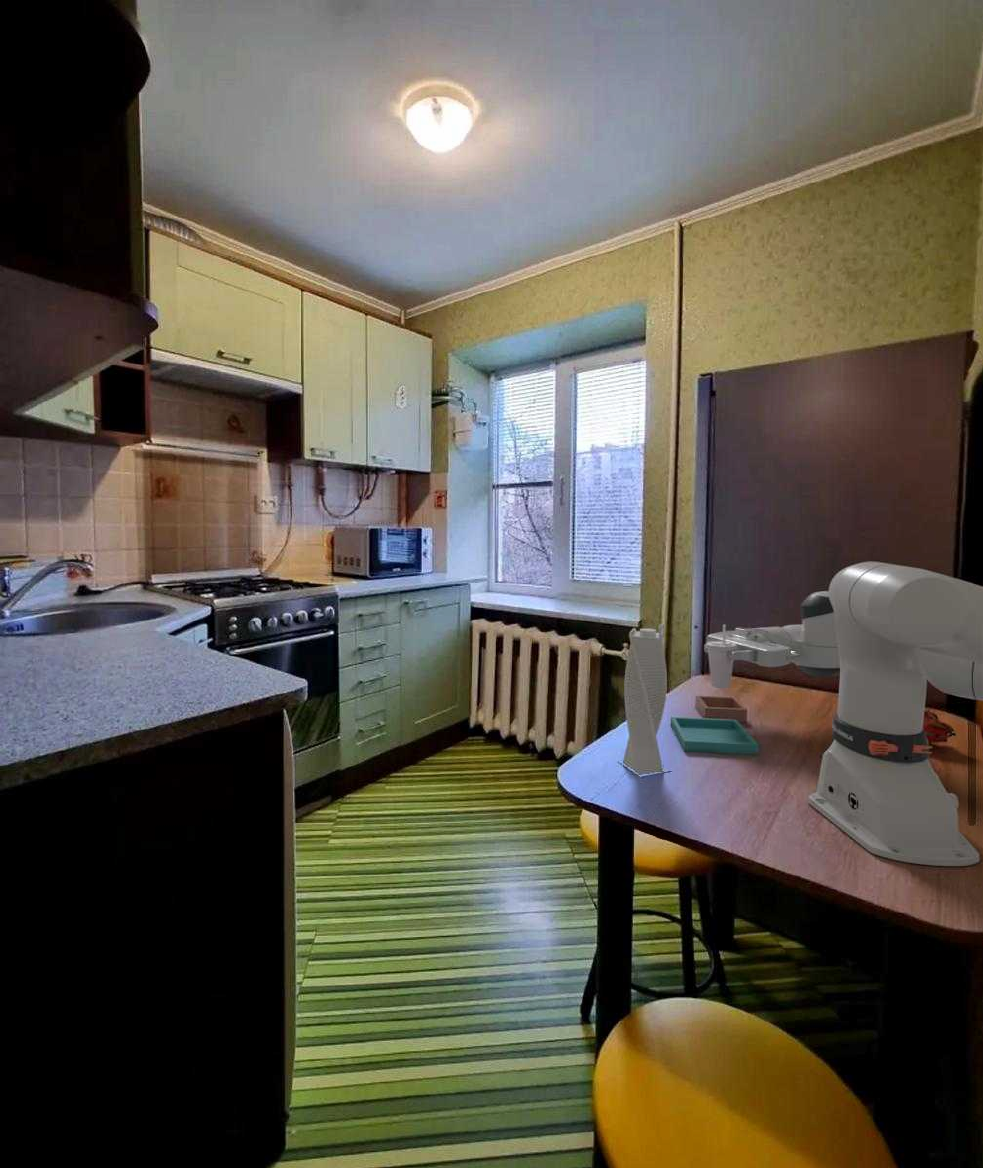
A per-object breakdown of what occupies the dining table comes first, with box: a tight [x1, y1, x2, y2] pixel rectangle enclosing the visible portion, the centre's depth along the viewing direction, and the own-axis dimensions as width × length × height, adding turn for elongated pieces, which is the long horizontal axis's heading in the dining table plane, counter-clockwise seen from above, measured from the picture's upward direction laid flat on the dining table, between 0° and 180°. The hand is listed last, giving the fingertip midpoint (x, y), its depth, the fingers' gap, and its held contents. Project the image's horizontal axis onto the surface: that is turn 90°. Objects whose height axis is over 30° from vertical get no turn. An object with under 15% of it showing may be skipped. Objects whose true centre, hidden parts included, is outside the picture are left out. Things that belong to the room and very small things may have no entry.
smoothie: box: [706, 623, 737, 689], centre depth 125 cm, size 6×6×14 cm
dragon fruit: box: [923, 708, 957, 749], centre depth 115 cm, size 8×8×12 cm
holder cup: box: [694, 695, 748, 723], centre depth 132 cm, size 9×9×3 cm
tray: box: [670, 716, 759, 756], centre depth 117 cm, size 14×14×2 cm
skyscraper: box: [622, 622, 668, 775], centre depth 102 cm, size 8×8×28 cm
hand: (717, 652), depth 125 cm, fingers closed on smoothie, 6 cm apart
